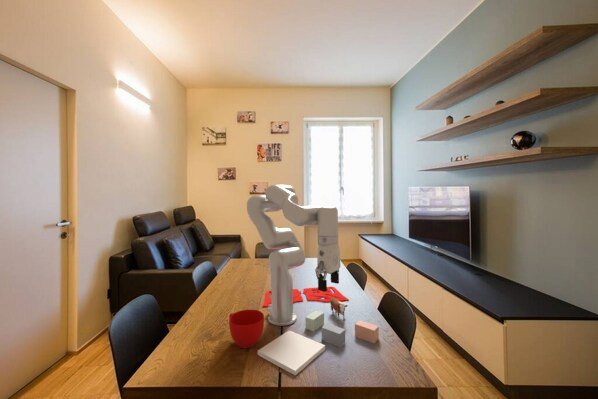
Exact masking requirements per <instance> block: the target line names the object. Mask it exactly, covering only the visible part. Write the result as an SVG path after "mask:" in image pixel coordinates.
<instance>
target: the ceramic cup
mask: <svg viewBox="0 0 598 399" xmlns="http://www.w3.org/2000/svg"><path fill="white" fill-rule="evenodd" d="M228 318H229V319H228V325H229V332H230V336H231V338H232V340H233V341H234V343H235V344H236V345H237V346H238V347H239V348H241V349H249V348H252V347H254V346H255V345H256V344H257V343H258V341H259V340H260V339H261V337H262V335H263V330H264V326H265V315H264V313H263V312H262V311H260V310H258V309H243V310H238V311H236V312H232V313H230V314H229V316H228Z"/></svg>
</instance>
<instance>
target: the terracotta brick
mask: <svg viewBox="0 0 598 399" xmlns="http://www.w3.org/2000/svg"><path fill="white" fill-rule="evenodd" d="M379 330H380V328H379V325H376V324H372V323H370V322H366V321H364V320H360V319H359V320H358V321H356V322H355V323H354V337H356V338H359V339H362V340H364V341H367V342H369V343H372V344H376V342H377V341H378V340H379V339H380V338H379V337H380V336H379V334H380V333H379V332H380V331H379Z"/></svg>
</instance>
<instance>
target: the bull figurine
mask: <svg viewBox="0 0 598 399" xmlns="http://www.w3.org/2000/svg"><path fill="white" fill-rule="evenodd" d="M329 304H330V310H331V314H332V316H335V313H337V317H336V319H337V320H340V315H341V316H342V319H343V321H346V317H345V311H346V308H347V307H348V304H346V305H345V303H343V301H341V302H340V301H338V300H337V299H336V298H334V297H332V298H331V299H330V302H329ZM334 311H335V312H334Z"/></svg>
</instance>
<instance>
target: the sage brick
mask: <svg viewBox="0 0 598 399" xmlns="http://www.w3.org/2000/svg"><path fill="white" fill-rule="evenodd" d="M324 325H325V312H323V311H320V310H318V309H317V310H314V311H313V312H311V313H309V314H308V315H306V316H305V329H306V330H308V331H311V332H315V331H316V330H318V329H319V328H320V327H323V326H324Z"/></svg>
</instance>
